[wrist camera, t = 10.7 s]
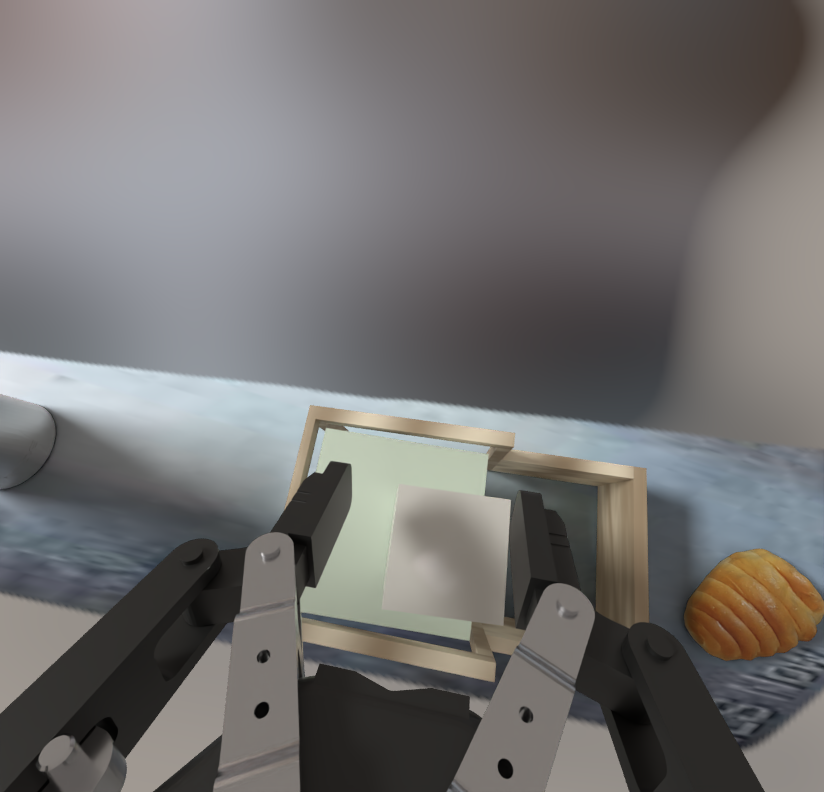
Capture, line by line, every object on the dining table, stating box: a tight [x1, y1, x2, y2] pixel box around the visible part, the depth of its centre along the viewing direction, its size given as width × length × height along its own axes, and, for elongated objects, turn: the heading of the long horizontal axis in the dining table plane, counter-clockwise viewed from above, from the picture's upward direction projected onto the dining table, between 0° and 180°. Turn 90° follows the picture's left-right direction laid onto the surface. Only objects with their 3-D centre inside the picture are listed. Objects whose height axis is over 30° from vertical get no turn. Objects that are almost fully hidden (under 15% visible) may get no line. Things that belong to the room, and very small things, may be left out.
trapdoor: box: [300, 428, 489, 641], centre depth 25 cm, size 11×11×1 cm
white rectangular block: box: [382, 484, 511, 626], centre depth 20 cm, size 5×5×8 cm
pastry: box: [684, 549, 824, 661], centre depth 30 cm, size 9×7×4 cm
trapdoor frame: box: [284, 405, 649, 682], centre depth 29 cm, size 24×14×12 cm, turn 81°
